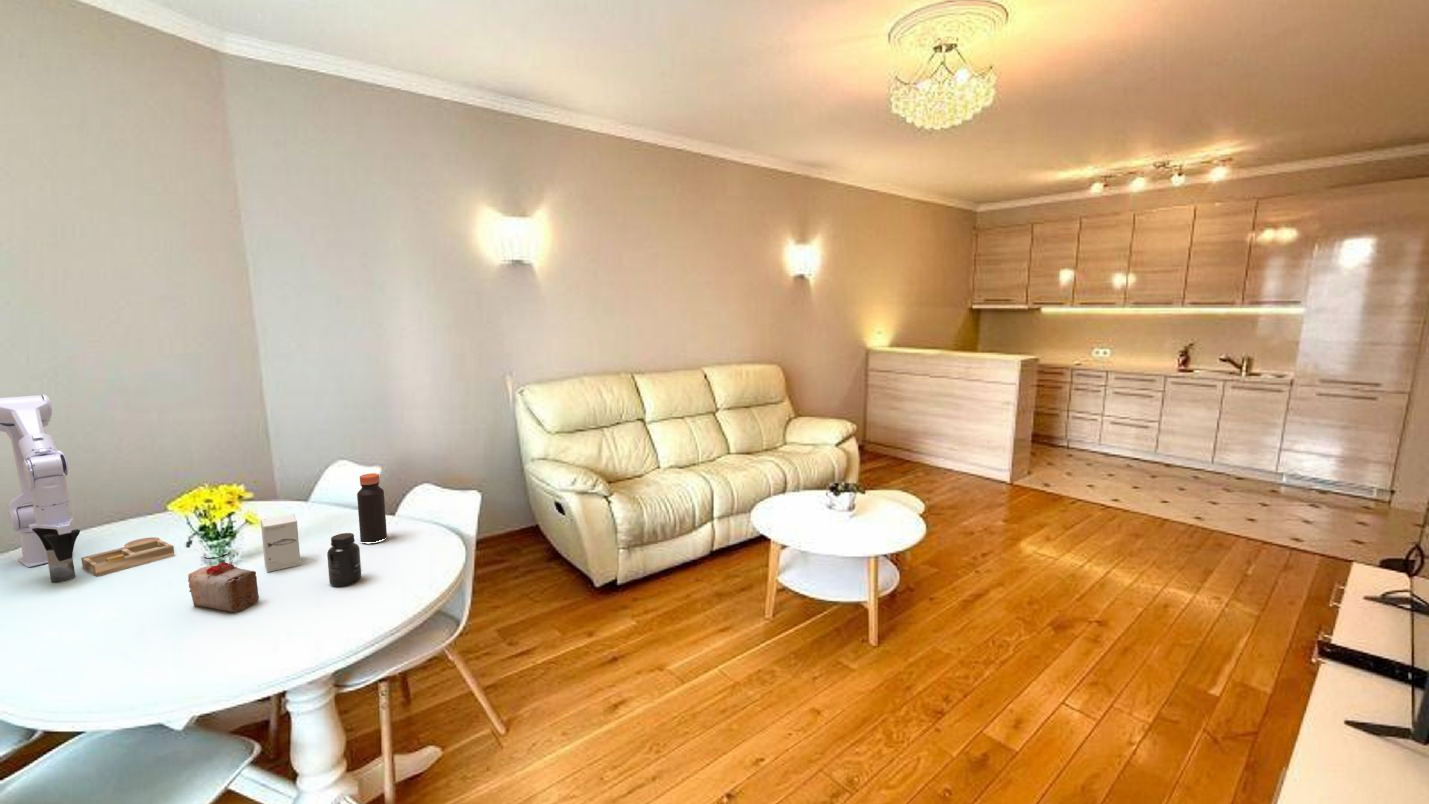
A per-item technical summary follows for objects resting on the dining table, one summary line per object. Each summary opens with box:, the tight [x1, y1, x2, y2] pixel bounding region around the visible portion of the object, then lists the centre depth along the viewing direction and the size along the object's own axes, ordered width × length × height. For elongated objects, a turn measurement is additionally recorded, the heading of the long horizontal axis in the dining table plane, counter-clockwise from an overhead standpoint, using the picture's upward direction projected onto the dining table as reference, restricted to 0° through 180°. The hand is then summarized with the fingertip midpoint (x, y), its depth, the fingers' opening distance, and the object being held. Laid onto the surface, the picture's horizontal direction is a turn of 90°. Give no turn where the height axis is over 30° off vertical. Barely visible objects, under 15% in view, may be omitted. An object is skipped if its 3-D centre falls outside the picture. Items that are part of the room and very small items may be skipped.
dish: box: [123, 536, 160, 547], centre depth 159 cm, size 7×7×2 cm
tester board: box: [81, 538, 175, 578], centre depth 151 cm, size 10×15×4 cm, turn 152°
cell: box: [46, 548, 76, 584], centre depth 140 cm, size 4×4×9 cm
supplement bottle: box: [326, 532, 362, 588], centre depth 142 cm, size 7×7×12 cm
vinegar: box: [356, 472, 388, 543], centre depth 167 cm, size 7×7×20 cm
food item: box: [187, 559, 260, 613], centre depth 130 cm, size 14×8×10 cm, turn 76°
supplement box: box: [260, 513, 302, 573], centre depth 150 cm, size 7×7×13 cm
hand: (59, 556), depth 140 cm, fingers open, 7 cm apart
